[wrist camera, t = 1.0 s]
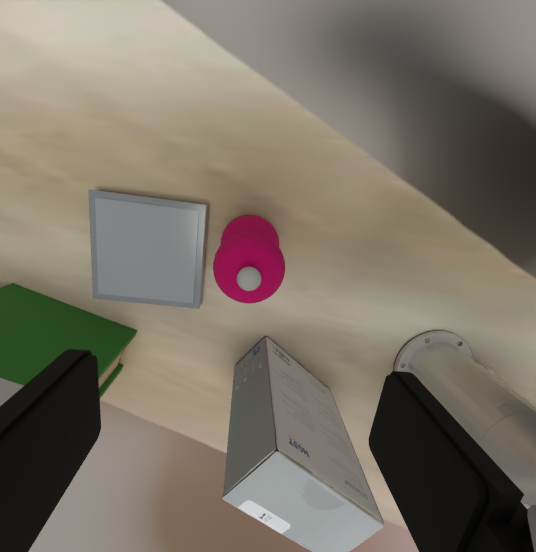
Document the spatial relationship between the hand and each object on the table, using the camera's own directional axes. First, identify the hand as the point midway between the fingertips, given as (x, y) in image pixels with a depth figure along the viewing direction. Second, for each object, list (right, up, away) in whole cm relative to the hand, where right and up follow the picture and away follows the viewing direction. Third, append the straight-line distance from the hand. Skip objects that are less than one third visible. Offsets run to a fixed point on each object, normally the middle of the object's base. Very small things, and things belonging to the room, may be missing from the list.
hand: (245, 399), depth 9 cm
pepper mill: (-2, +9, +30) cm, 31 cm away
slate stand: (-15, +8, +29) cm, 34 cm away
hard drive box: (+3, -13, +36) cm, 39 cm away
